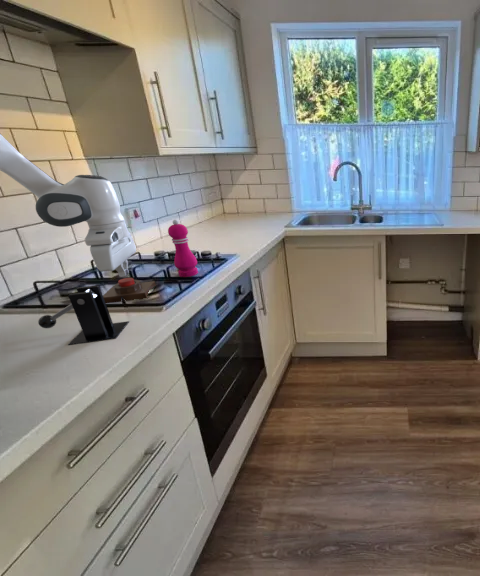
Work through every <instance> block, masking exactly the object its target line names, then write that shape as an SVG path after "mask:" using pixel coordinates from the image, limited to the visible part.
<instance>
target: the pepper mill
mask: <svg viewBox="0 0 480 576" xmlns="http://www.w3.org/2000/svg"><path fill="white" fill-rule="evenodd" d="M188 234H189V230H188V228H187V226H186V225H184V224H182V223H179V220H178V219H173V220H172V224H171V225H170V226H169V227H168V228H167V235H168V236H169V237H170V238H172V239H171V241H172V244H173V245H174V249H175V254H174V259H173V260H174V261H173V263H174V266H175V268H176V269H178V271H177V273H178V276H179V277H180V278H189V277H194V276H196V275H198V274H199V270H198V267H196V266H197V265H198V259H197V257H196V256H195V254H194V253H193V252H192V250H191V249H190V246H189V243H188V242H189V237H188Z"/></svg>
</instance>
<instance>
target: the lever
mask: <svg viewBox="0 0 480 576" xmlns="http://www.w3.org/2000/svg"><path fill="white" fill-rule="evenodd" d="M90 291H92V290H91V289H88V290H86V291H84V292H90ZM92 294H93V296H94V298H96V297H97V295H96V294H95V293H94V292H93V291H92ZM72 310H74V309H73V306H72V304H71V303H70V304H69V305H67V306H66V307H63V308H62V309H60V310H59V311H57V312H56V313H54V314H52V315H51V314H45V315H42V316H41V317H39V319H38V322H37V324H38V325H39V327H40V328H42V329H52V328H54V327H55V326H56V325H57V319H59V318H61V317H62V316H64V315H65V314H67V313H68V312H70V311H72Z"/></svg>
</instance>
